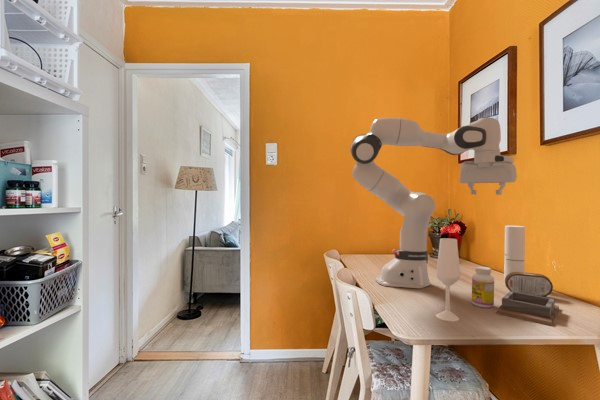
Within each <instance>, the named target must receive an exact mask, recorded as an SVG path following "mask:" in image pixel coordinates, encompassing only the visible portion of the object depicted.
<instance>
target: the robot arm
mask: <svg viewBox="0 0 600 400" xmlns="http://www.w3.org/2000/svg"><path fill="white" fill-rule="evenodd" d="M369 128H370V129H369V132H368V133H367V134H364V133H363V134H359V135H357V136H355V137H354V138H353V140H352V142H351V144H350V153H351V157H352V159H353V160H354V161H355V165H354V166H353V169H352V173H351V176H352V178H353V179H354V180H355V181H356V182H357V183H358V184H359V185H360V186H362V188H364V189H365V190H366V191H368V192H370V193H371V194H372V195H374V196H376V197H377V198H379V199H380V200H382V201H383V202H384V203H386V205H388V206H389V207H390V208H391V209H393V210H394V211H396V213H398V214H400V216H403V220H402V225H401V228H400V230H399V248H398V249H396V248H393V249H392V250H391V253H392V254H393V255H394V258H393V259H391V260H389V261H388V262H387V263H385V264H384V265H383V266H382V268H381V272H380V275H377V276H376V277H375V281H376V282H377V283H378V284H379V285H381V286H384V287H395V288H409V289H410V288H411V289H423V288H425V287H428V286H430V285H431V282H430V276H429V272H428V270H429V269H428V262H429V254H428V250H427V249H428V245H427V244H428V243H427V242H428V240H427V239H428V228H429V225H430V221H431V218H432V215H433V214H434V212H435V209H436V202H435V200H434V198H433V197H432V196H431V195H429V194H427V193H424V192H419V191H418V192H416V191H411V189H409V188H407V187H406V186H405V185H404V184H403V183H402V182H401V181H400V179H398V178H397V177H395V176H394V175H392V174H391V173H389V172H388V171H386V170H385V169H383V168H382V167H380V166H379V165H377V163H375V159H376V158H377V156H378V155H379V152H380V150H381V149H382V147H383V146H385V145H386V146H388V145H389V146H397V147H423V148H424V147H425V148H430V149H436V150H441V151H443V152H445V153H447V154H448V155H452V156H460V155H462V154H464V153H465V152H467V151H469V150H473V151H474V153H473V154H474V155H473V157H474V158H473V160H469V161H468V160H467V161H466V160H465V161H464V162H462V163H461V164H460V168H459V169H460V172H459V178H458V181H459V183H460V184H467V187H468V189H469V190H470V195H477V190H476V189H475V188H474V186H475V184H497V183H498V185H499V187H498V189H495V195H498V196H500V195H502V194H503V189H504V188H505V187H506V183H507V184H508V183H510V184H511V183H515V182H516V181H517V177H518V176H517V168H516V165H515V164H514V162H515V158H514V157H513V156H507V155H504V154H501V149H500V143H501V141H502V140H501V135H502V134H501V133H502V132H501V125H500V121H499V120H497V119H496V118H493V117H482V118H478V119H477V120H476V121H474V122H472V123H469V124H467V125H462V126H461V127H459V128H457V129H455V130H454V131H451V132H449V133H437V132H429V131H425V130H423V129H422V128H421V126H420V124H419V123H418V122H417V121H416V120H411V119H409V118H408V119H407V118H403V117H402V118H401V117H380V118H376V119H374V121H373V122H372V123H371V125H370V127H369Z"/></svg>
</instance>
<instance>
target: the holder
mask: <svg viewBox="0 0 600 400" xmlns="http://www.w3.org/2000/svg"><path fill="white" fill-rule="evenodd" d="M555 300H556V299H555V298H551V297H547V296H545V297H541V296H536V295H530V294H525V293H519V292H513V291H510V290H509V291H507V293H506V294H505V295H504V296H503V297H502V298H501V304H500V305H499V306H498V307H497V309H496V310H495V314H498V315H502V316H507V317H511V318H516V319H521V320H524V321H528V322H534V323H539V324H542V325H547V326H553V323H554V321H555V318H556V317H557V314H558V311H559V309H560V306H559V305H558V304H555V303H556V301H555Z"/></svg>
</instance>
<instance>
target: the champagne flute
mask: <svg viewBox="0 0 600 400" xmlns="http://www.w3.org/2000/svg"><path fill="white" fill-rule="evenodd" d="M458 248H459V247H458V239H457V238H450V237H449V238H448V237H447V238H446V237H443V238H440V239H439V246H438V256H437V262H436V263H437V264H436V271H435V272H436V277H437V279H438V280H439V281H440V282H441V283H442V284H443V285H445V309H444V310H443V311H440V312H438V313H436V314H435V316H436V318H437V319H440V320H442V321H446V322H458V321H460V318H459V317H458V316H457V315H456V314H455V313H453V312H452V311H450V309H451V307H450V305H451V304H450V302H451V301H450V300H451V286H453V285H454V284H455V283H457V282H458V281H459V280H460V278H461V272H460V271H461V269H460V258H459V249H458Z"/></svg>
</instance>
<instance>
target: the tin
mask: <svg viewBox="0 0 600 400" xmlns="http://www.w3.org/2000/svg"><path fill="white" fill-rule="evenodd" d="M504 285H505V287H506V288H507V290H509V292H510V291H513V292H519V293H525V294H530V295H536V296H541V297H547V296H549V295H551V293H552V292H553V290H554V286H553V283H552V281H551V279H550V278H549V277H547V276H546V275H544V274H541V273H534V272H533V273H531V272H525V271H524V272H512V273H509V274H508V275H507V276H506V278H505V284H504Z"/></svg>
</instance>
